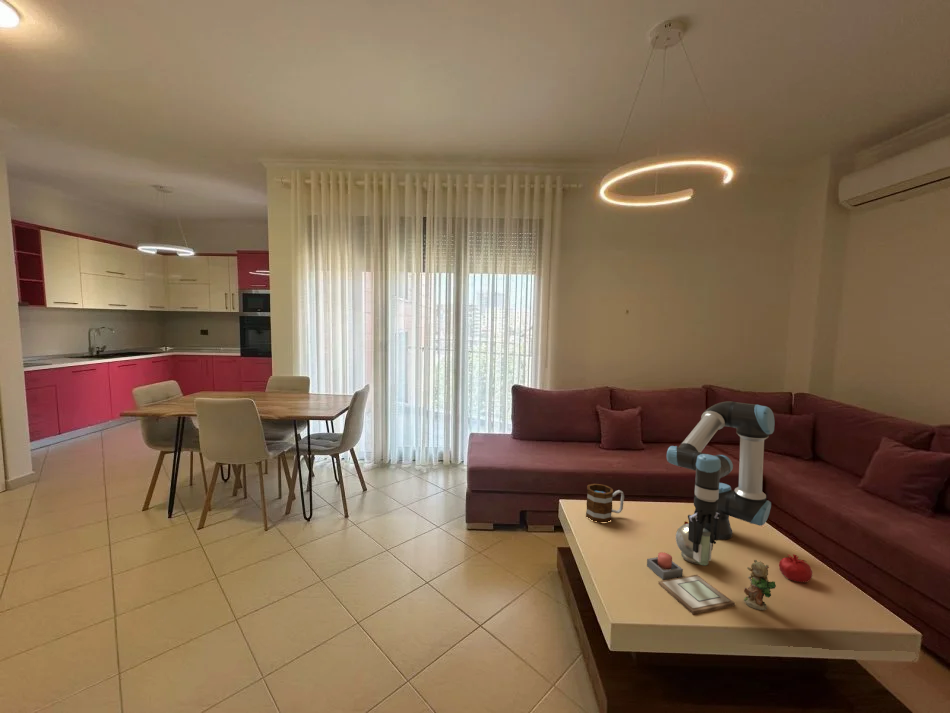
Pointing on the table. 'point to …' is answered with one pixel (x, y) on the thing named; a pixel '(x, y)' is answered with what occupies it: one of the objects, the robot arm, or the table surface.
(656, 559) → the button housing
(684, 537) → the teapot
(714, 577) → the table surface
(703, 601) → the picture board
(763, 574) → the figurine
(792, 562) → the pomegranate
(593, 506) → the mug
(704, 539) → the cylinder
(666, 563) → the button
